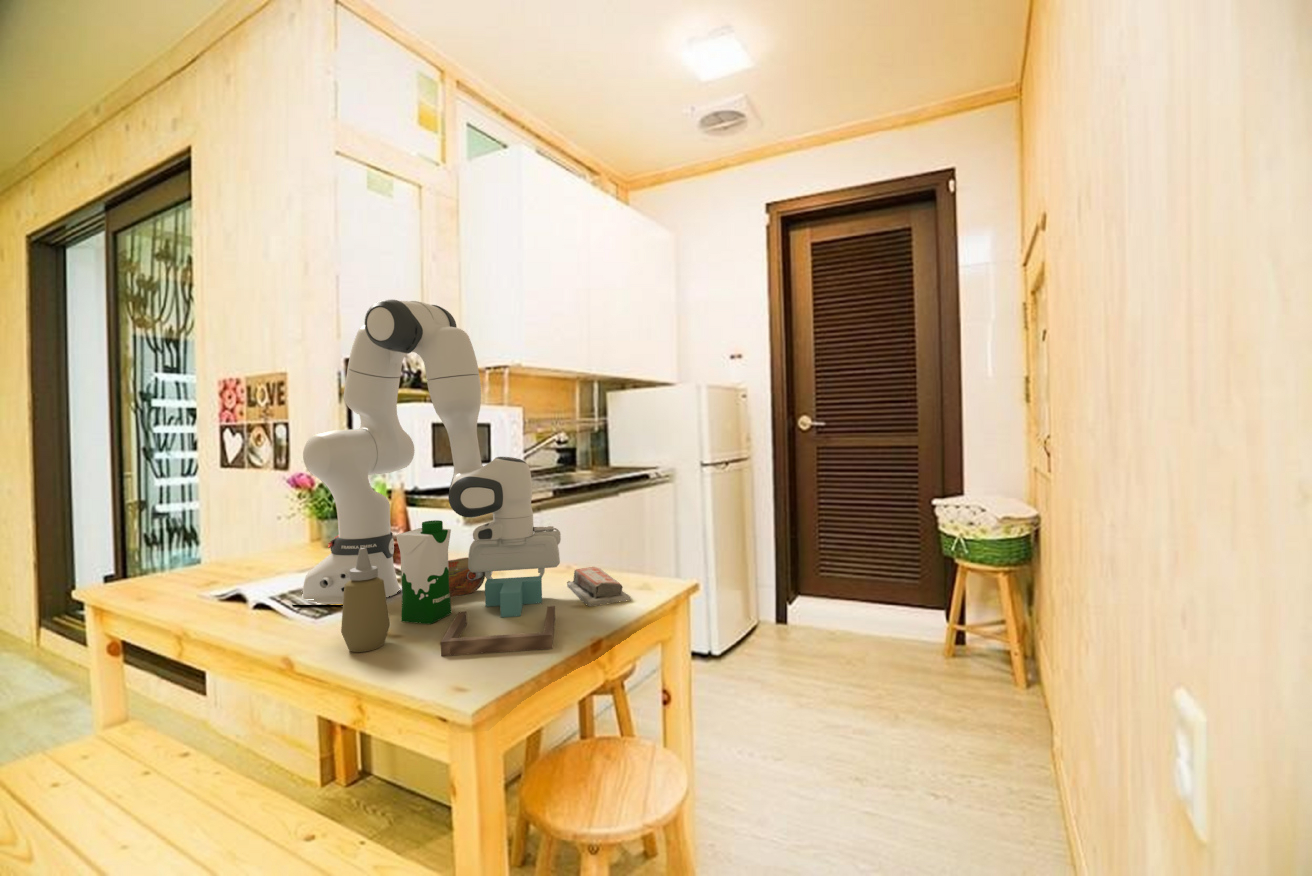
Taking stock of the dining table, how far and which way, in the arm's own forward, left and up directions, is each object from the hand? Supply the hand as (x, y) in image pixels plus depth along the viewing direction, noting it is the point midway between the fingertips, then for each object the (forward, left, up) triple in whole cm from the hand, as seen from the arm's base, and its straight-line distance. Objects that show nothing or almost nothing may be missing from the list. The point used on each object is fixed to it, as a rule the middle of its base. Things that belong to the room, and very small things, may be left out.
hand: (515, 588), depth 139 cm
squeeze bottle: (-24, -25, -2) cm, 35 cm away
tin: (-15, +6, -3) cm, 17 cm away
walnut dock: (0, -23, -2) cm, 23 cm away
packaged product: (+18, +1, -3) cm, 19 cm away
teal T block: (0, -7, -2) cm, 7 cm away
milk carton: (-17, -10, -2) cm, 20 cm away
